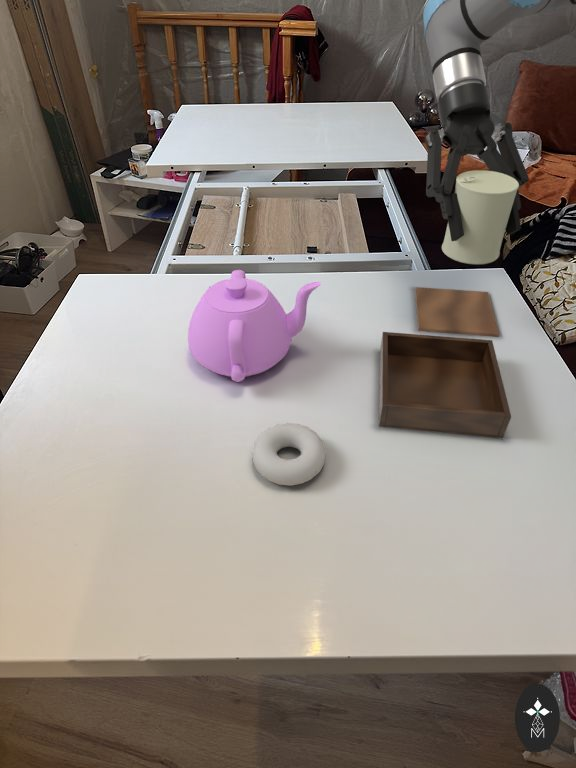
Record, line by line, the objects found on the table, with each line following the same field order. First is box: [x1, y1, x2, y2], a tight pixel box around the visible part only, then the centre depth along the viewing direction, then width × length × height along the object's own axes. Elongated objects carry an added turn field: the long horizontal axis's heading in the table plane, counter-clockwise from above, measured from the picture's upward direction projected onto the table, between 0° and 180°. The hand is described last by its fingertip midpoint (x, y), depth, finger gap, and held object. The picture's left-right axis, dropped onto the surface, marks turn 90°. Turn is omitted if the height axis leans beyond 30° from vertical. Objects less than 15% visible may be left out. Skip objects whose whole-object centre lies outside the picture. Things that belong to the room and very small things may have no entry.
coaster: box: [414, 286, 500, 338], centre depth 100 cm, size 14×14×1 cm
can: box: [441, 169, 519, 265], centre depth 84 cm, size 9×9×12 cm
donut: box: [251, 422, 327, 486], centre depth 72 cm, size 10×4×10 cm
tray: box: [378, 331, 512, 439], centre depth 82 cm, size 18×18×4 cm
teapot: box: [187, 269, 322, 383], centre depth 86 cm, size 22×22×14 cm
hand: (486, 234), depth 83 cm, fingers closed on can, 9 cm apart
